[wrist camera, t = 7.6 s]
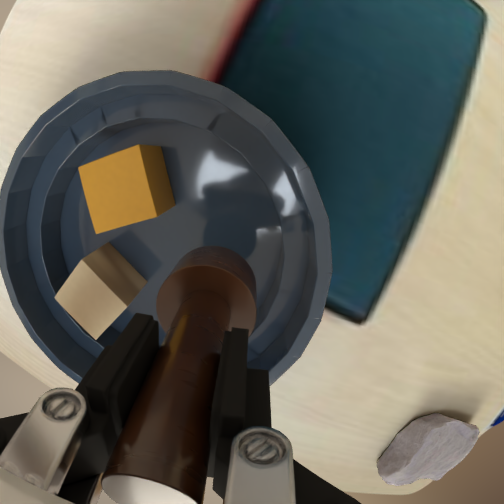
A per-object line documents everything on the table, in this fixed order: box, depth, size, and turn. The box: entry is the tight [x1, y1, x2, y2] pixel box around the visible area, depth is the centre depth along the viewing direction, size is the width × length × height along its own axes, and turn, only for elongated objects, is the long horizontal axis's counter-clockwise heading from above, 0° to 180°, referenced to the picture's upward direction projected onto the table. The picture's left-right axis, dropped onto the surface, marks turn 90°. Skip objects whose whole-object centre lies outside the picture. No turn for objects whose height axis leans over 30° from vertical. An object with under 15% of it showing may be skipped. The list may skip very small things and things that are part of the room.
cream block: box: [54, 242, 147, 340], centre depth 20 cm, size 4×4×4 cm
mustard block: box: [78, 144, 175, 234], centre depth 18 cm, size 4×4×4 cm
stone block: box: [377, 413, 479, 486], centre depth 27 cm, size 12×5×10 cm
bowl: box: [0, 70, 332, 386], centre depth 19 cm, size 21×21×6 cm
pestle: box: [101, 246, 257, 504], centre depth 10 cm, size 4×4×12 cm
